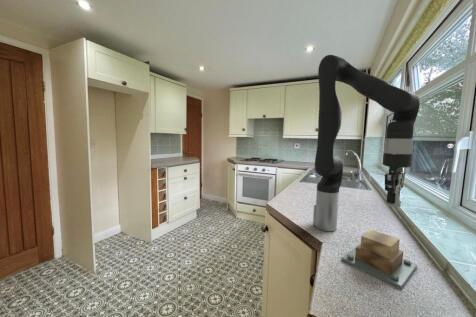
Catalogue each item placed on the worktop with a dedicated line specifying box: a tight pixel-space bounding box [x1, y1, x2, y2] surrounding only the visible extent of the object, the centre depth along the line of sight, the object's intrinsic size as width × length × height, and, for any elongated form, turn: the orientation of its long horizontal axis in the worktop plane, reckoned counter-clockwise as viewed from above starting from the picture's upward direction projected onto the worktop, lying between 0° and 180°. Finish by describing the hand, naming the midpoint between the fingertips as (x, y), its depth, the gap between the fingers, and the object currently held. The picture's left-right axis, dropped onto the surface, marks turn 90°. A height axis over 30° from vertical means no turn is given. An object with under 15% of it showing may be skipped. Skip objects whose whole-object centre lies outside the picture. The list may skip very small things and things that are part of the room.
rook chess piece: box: [385, 185, 402, 208], centre depth 69 cm, size 4×4×8 cm
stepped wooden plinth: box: [355, 229, 404, 275], centre depth 65 cm, size 10×10×8 cm
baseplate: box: [340, 247, 418, 290], centre depth 65 cm, size 16×16×2 cm
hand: (392, 201), depth 69 cm, fingers closed on rook chess piece, 4 cm apart
